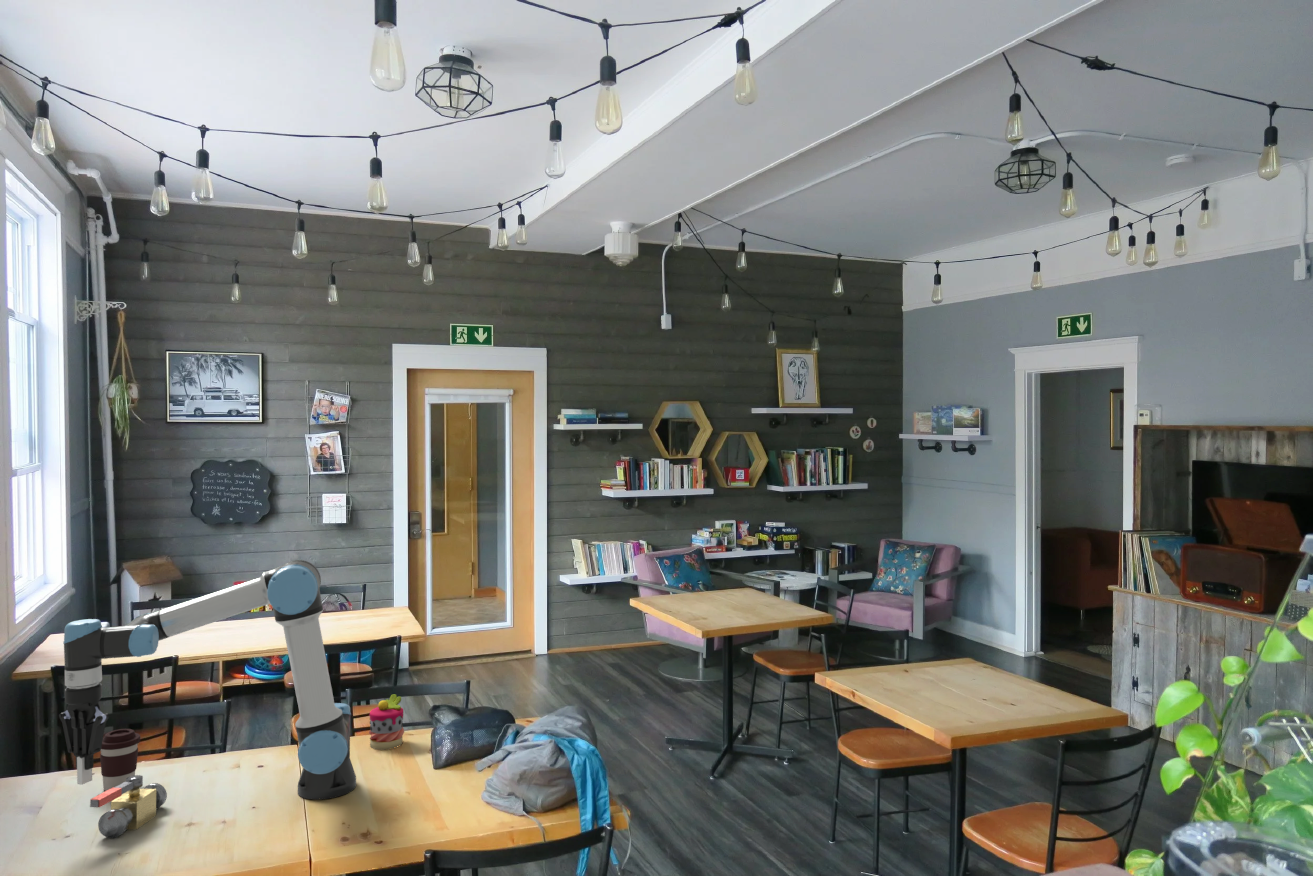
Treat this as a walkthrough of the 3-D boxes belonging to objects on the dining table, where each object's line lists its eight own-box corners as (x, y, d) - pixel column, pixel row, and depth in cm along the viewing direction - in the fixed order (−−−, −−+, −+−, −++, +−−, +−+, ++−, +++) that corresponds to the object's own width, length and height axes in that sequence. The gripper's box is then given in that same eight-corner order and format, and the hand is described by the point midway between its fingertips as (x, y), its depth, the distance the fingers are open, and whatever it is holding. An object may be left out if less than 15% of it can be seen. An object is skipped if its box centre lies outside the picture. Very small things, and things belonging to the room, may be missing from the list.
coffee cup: (119, 795, 230) (120, 739, 231) (88, 792, 232) (89, 737, 233) (148, 781, 240) (148, 728, 240) (118, 778, 242) (118, 725, 242)
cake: (389, 752, 264) (389, 703, 265) (361, 747, 268) (362, 699, 268) (410, 741, 274) (410, 694, 274) (383, 737, 278) (383, 691, 278)
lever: (132, 783, 216) (132, 774, 216) (145, 784, 216) (146, 775, 216) (87, 808, 202) (87, 798, 202) (101, 808, 201) (101, 799, 201)
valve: (145, 805, 224) (145, 772, 224) (169, 805, 224) (170, 773, 224) (94, 840, 204) (94, 804, 204) (120, 840, 204) (121, 804, 204)
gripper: (47, 687, 205) (49, 786, 205) (90, 690, 202) (92, 790, 201) (76, 679, 212) (77, 774, 212) (118, 682, 209) (119, 778, 209)
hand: (84, 782), depth 207 cm, fingers closed
